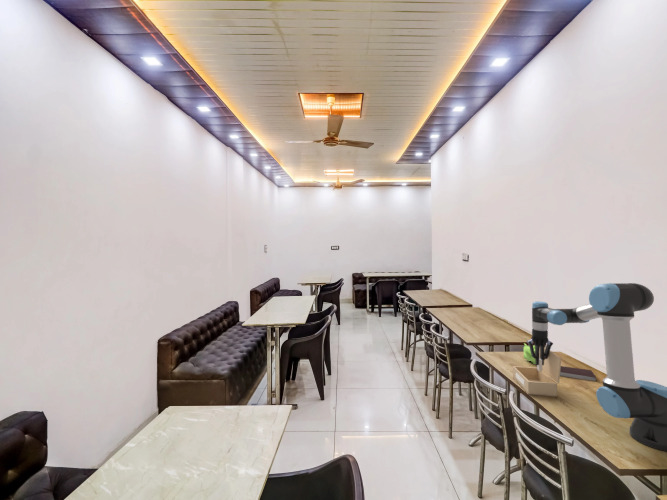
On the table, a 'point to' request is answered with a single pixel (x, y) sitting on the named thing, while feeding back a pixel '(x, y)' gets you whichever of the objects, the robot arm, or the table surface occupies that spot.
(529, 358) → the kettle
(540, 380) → the open box
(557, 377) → the lid
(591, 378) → the book
